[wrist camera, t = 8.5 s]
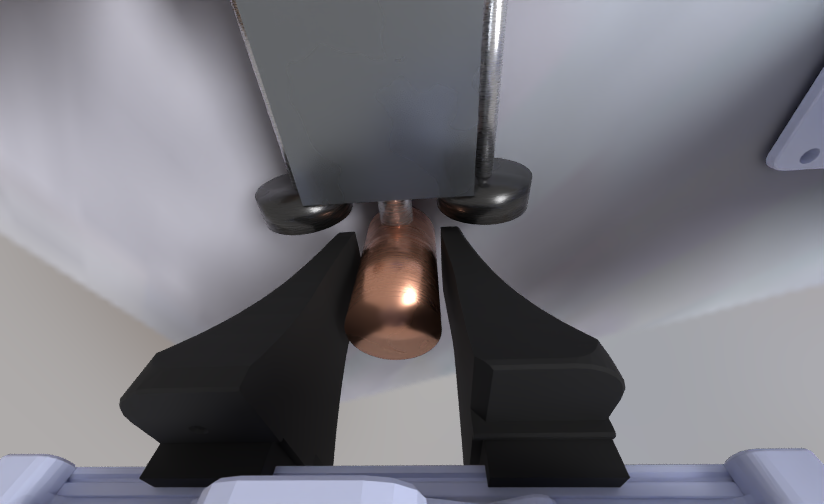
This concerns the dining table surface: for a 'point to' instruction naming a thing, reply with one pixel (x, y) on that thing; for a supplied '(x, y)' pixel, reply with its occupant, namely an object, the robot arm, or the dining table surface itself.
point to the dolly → (382, 107)
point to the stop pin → (396, 286)
